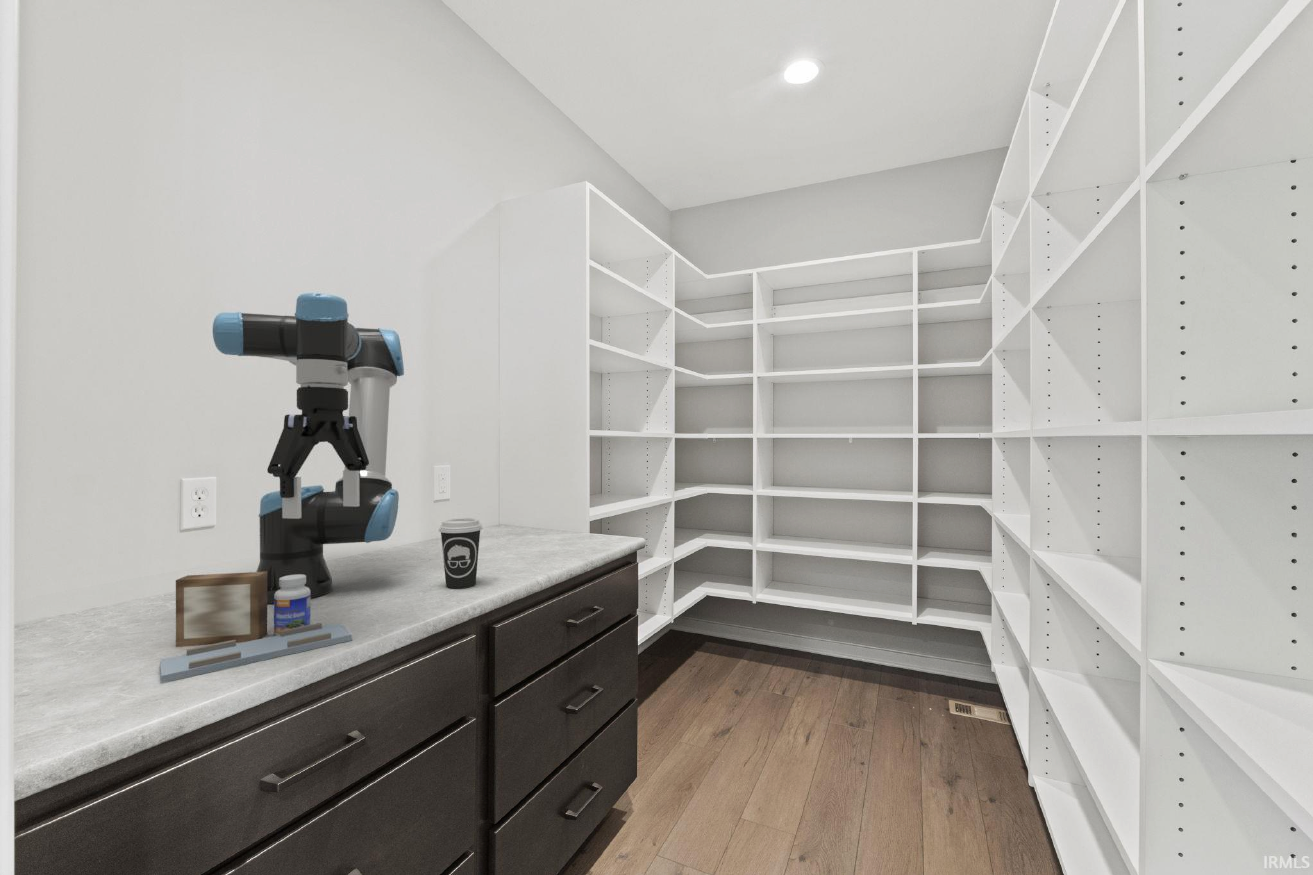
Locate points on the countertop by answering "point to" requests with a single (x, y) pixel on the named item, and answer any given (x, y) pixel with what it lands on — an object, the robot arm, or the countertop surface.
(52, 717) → the countertop surface
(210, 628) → the frame
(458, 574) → the coffee cup
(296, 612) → the pill bottle
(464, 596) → the countertop surface
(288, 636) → the ledge
